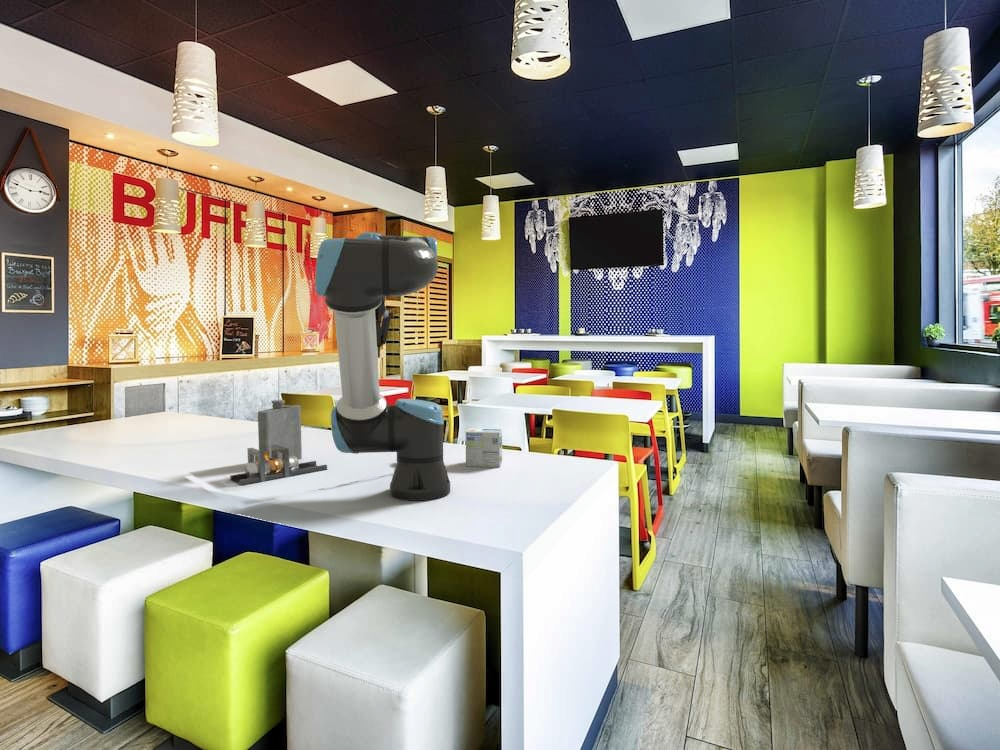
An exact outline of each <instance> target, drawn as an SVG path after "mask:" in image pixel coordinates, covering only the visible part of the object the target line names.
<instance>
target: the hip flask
mask: <svg viewBox="0 0 1000 750" xmlns="http://www.w3.org/2000/svg"><path fill="white" fill-rule="evenodd" d="M285 402H286V401H285V400H284V399H273V400H271V404H272V408H268V409H263V410H258V411H257V424H258V426H257V427H258V429H257V431H258V450H260V451H262V452H264V451H270V458H272V455H271V445H274V444H276V445H279V446H282V447H285V448H288V449H289V457H290V456H296V457H297V459H298V461H300V460H302V458H303V456H302V455H303V454H302V453H303V450H302V449H303V448H302V415H301V413H302V412H301V410H302V409H301V406H302V405H298V404H295V405H293V404H292V405H290V404H289V405H285ZM278 458H282V453H281V452H278Z"/></svg>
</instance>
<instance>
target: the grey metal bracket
mask: <svg viewBox="0 0 1000 750" xmlns="http://www.w3.org/2000/svg"><path fill="white" fill-rule="evenodd" d="M246 449H247V463H252V462H255V458H254V455H255V456H257V457H258V471H259V477H260V483H265V482H267V481H266V479H265V452H262V451H260V450H259V449H257V448H254V447H247V448H246ZM278 452H281V453H282V462H283V473H284V477H287V478H290V477H289V449H288V448H285V447H282V446H279V445H276V444H274V445H271V455H272V458H273V459H277V458H278ZM264 481H265V482H264Z"/></svg>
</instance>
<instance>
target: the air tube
mask: <svg viewBox="0 0 1000 750" xmlns="http://www.w3.org/2000/svg"><path fill="white" fill-rule="evenodd" d="M298 468H299V460H298V459H297V457H296V456H290V457H289V471H292V470H298ZM281 472H283V462H282V458H277V459H273V458H270V459H269V460H265V475H270V474H276V473H281ZM244 473H245V475H246V478H247V479H248V478H254V477H259V471H258V462H255V461H254V462H252V463H248V462H246V463H245V466H244Z"/></svg>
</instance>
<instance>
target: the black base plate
mask: <svg viewBox="0 0 1000 750" xmlns="http://www.w3.org/2000/svg"><path fill="white" fill-rule="evenodd" d="M328 470H329V469H328V465H327V464H322V465H317V460H311V461H307V462H300V463H299V468H298V470H292V471H289V477H284V473H283V472H281V473H276V474H270V475H265V479H266V481H264V482H263V483H265V482H270V481H274V480H275V481H276V480H280V479H286V478H291V477H297V476H302V475H306V474H307V475H308V474H313V473H317V472H323V471H328ZM229 478H230V479H229V481H231V482H233V483H235V484H237V485H239V486H242V487H244V486H249V485H255V484H259V483H261V482H260V477H254V478H248V479H247V478H246V475H245V472H242V473H236V474H231V475H229Z"/></svg>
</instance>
